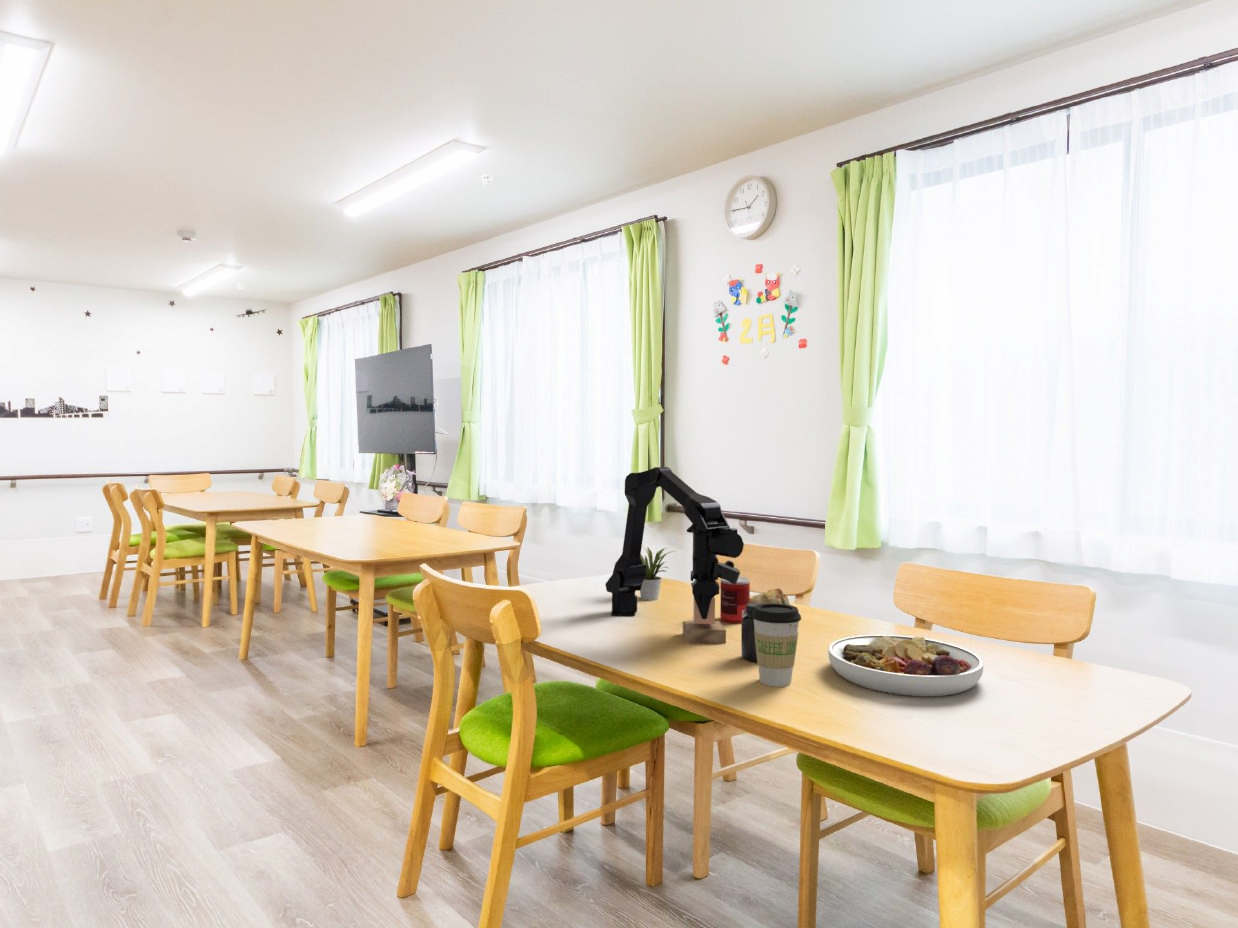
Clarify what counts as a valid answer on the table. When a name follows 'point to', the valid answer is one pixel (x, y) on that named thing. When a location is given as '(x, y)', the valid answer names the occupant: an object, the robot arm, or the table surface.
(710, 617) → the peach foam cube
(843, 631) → the table surface
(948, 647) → the bowl
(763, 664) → the coffee cup
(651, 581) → the house plant
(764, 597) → the pastry
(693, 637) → the walnut box
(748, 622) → the supplement bottle
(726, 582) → the canned food
